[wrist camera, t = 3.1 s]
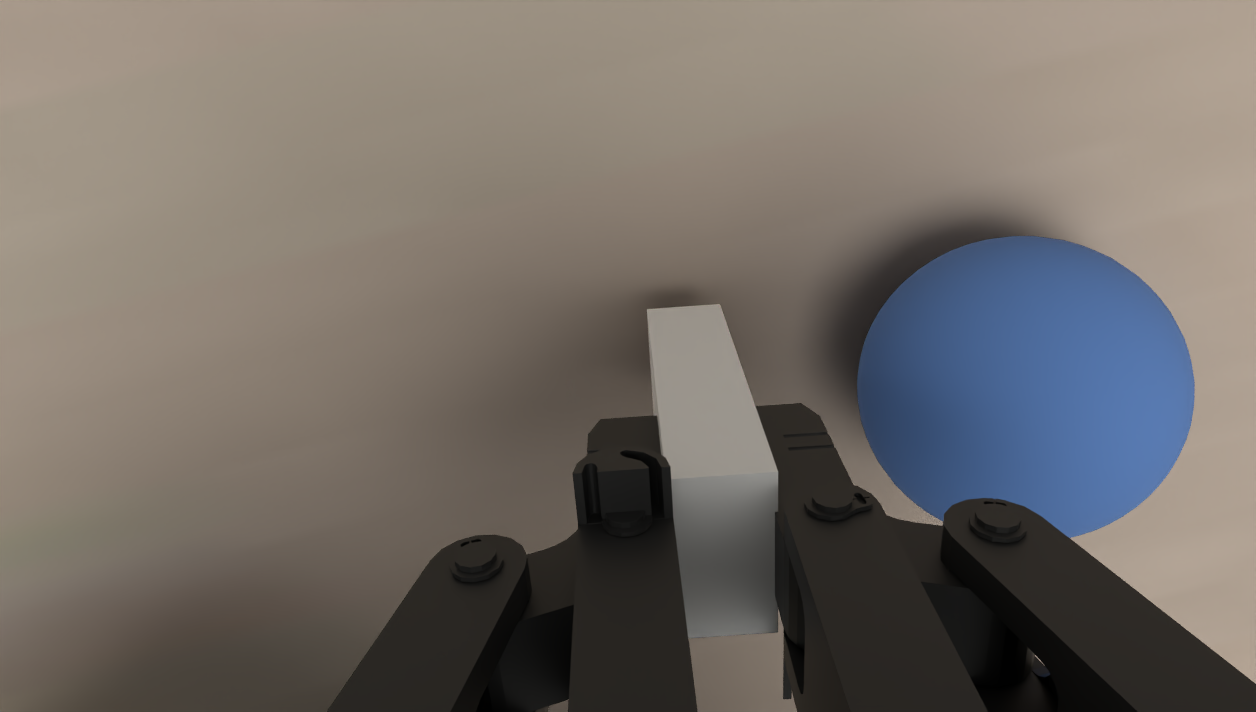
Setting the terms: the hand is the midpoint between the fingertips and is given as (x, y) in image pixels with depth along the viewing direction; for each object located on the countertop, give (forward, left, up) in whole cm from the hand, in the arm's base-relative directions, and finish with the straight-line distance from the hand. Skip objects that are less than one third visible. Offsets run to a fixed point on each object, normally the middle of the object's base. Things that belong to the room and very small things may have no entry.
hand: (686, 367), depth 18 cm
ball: (-1, -6, +1) cm, 7 cm away
